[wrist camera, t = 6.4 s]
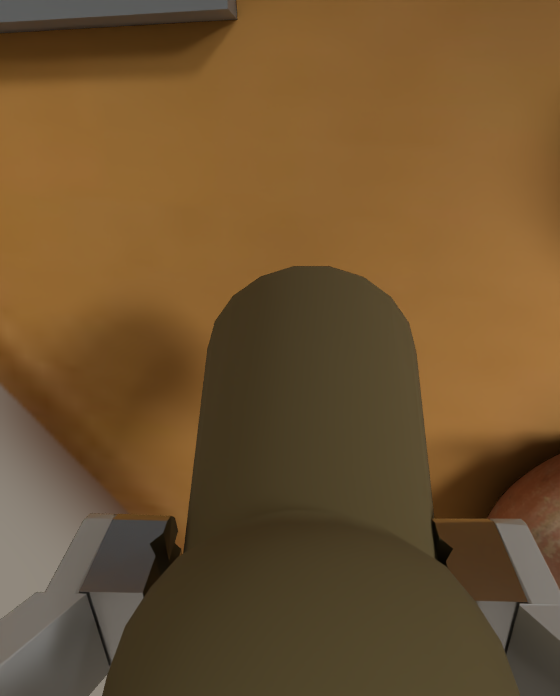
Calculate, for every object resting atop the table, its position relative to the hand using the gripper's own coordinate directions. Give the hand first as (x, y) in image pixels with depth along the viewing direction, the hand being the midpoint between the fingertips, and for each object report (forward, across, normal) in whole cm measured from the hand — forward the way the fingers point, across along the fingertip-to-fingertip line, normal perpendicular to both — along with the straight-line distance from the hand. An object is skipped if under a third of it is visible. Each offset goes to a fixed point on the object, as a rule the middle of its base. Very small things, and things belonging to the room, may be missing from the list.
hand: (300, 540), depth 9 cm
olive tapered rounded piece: (+7, 0, 0) cm, 7 cm away
